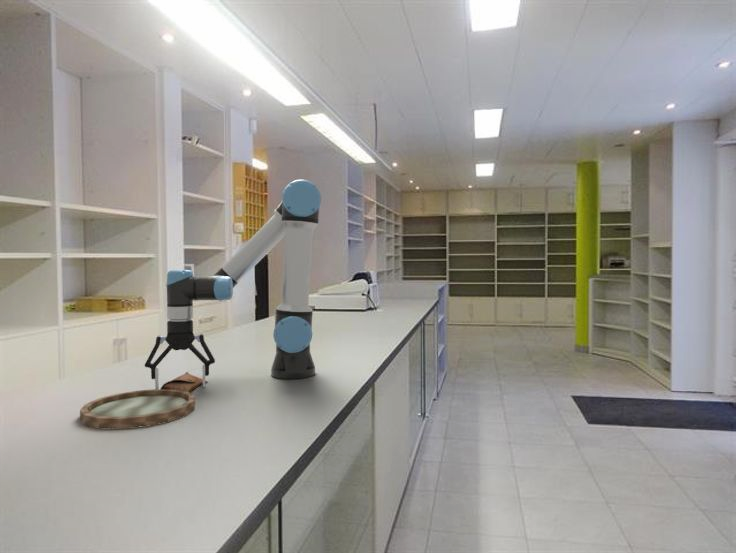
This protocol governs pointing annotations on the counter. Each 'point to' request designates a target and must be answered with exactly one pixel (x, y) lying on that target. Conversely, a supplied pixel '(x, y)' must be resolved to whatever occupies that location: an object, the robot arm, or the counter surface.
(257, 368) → the counter surface
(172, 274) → the robot arm
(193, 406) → the tray
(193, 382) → the sunglasses case
